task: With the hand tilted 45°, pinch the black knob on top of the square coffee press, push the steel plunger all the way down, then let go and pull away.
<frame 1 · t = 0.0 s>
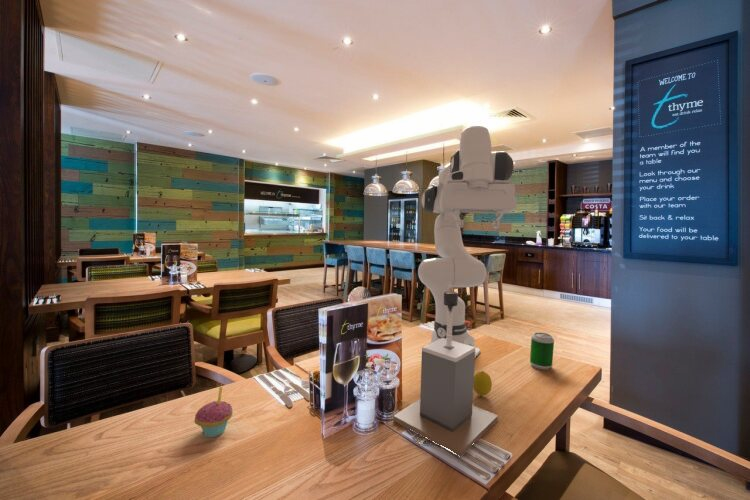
hand: (478, 227, 92), 52 cm above the table, tool tilted 20°, fingers open, 8 cm apart
plunger: (449, 338, 89), point 23 cm above the table, slide at 8.0 cm
soda can: (540, 366, 127), on the table
press: (445, 420, 92), on the table
cupcake: (214, 432, 85), on the table
lemon: (481, 396, 105), on the table
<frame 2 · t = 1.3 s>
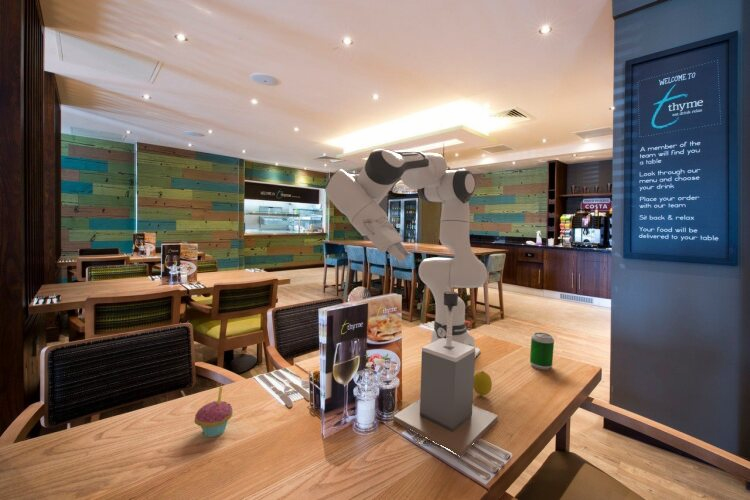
hand: (405, 258, 90), 43 cm above the table, tool tilted 45°, fingers open, 8 cm apart
nothing on the table moved.
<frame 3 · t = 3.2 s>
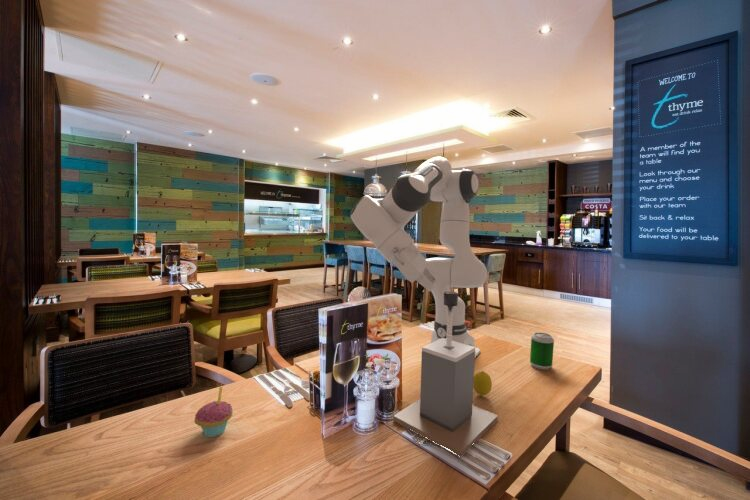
hand: (433, 285, 89), 37 cm above the table, tool tilted 45°, fingers open, 8 cm apart
nothing on the table moved.
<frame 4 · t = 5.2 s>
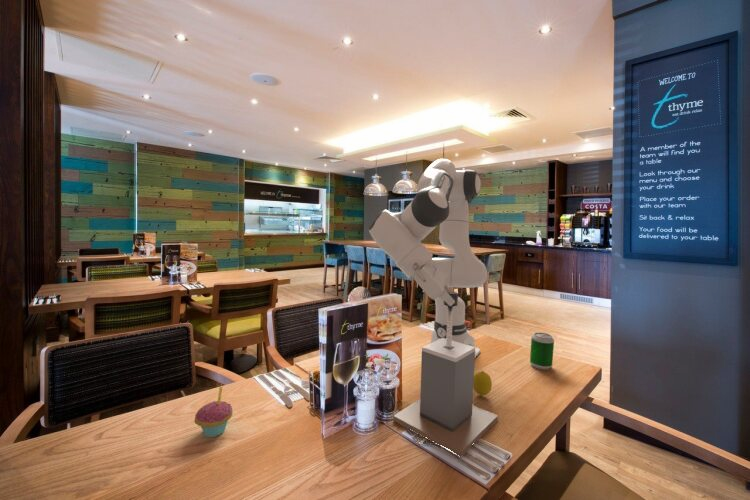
hand: (453, 301, 88), 33 cm above the table, tool tilted 45°, fingers closed on plunger, 4 cm apart
plunger: (449, 338, 89), point 23 cm above the table, slide at 8.0 cm, touching gripper
everything else where it was.
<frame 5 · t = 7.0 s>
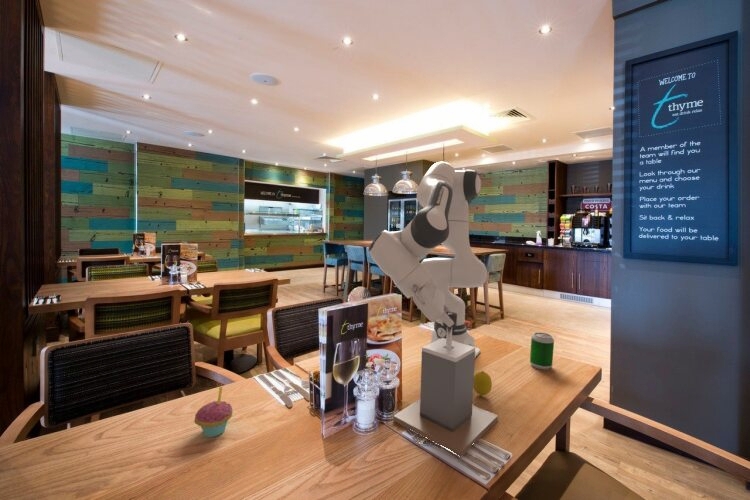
hand: (452, 321, 89), 27 cm above the table, tool tilted 45°, fingers closed on plunger, 4 cm apart
plunger: (448, 358, 90), point 17 cm above the table, slide at 2.5 cm, touching gripper
everything else where it was.
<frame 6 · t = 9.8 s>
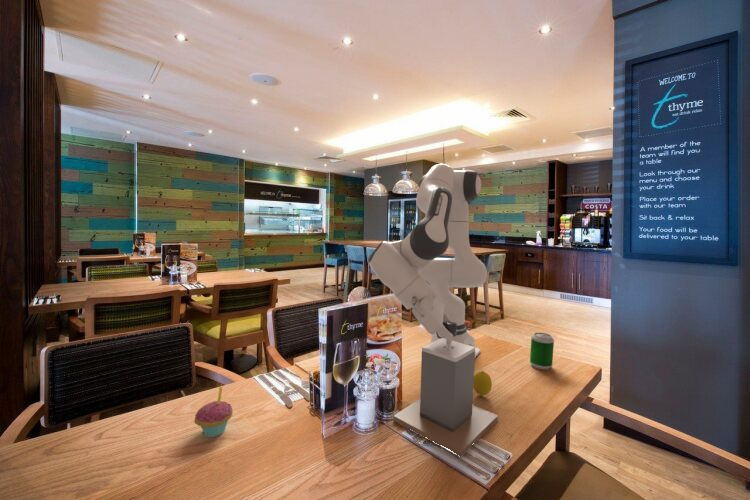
hand: (451, 332, 89), 24 cm above the table, tool tilted 45°, fingers open, 8 cm apart
plunger: (447, 367, 90), point 15 cm above the table, slide at -0.1 cm
everything else where it was.
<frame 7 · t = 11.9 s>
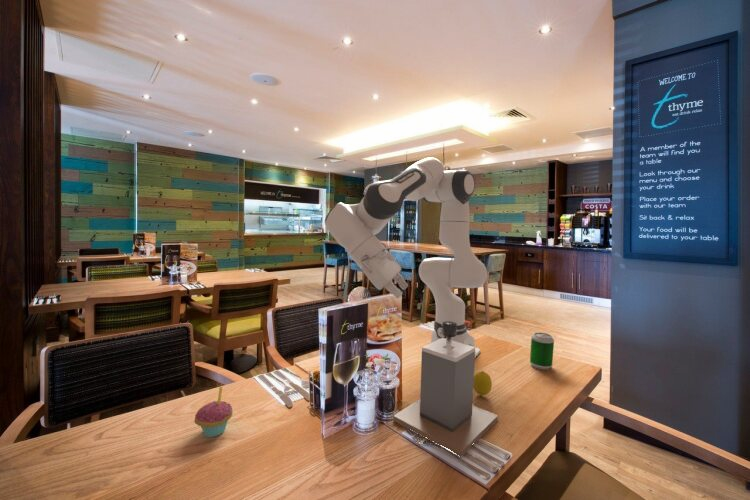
hand: (403, 292, 92), 34 cm above the table, tool tilted 45°, fingers open, 8 cm apart
nothing on the table moved.
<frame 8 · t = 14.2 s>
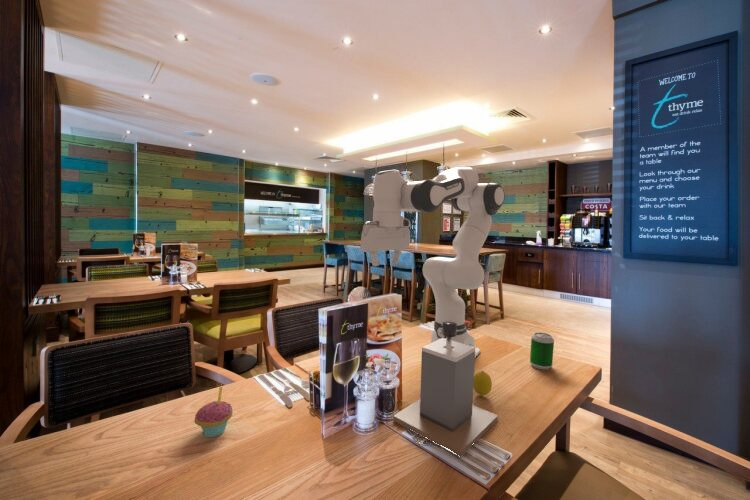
hand: (385, 264, 110), 39 cm above the table, tool pointing down, fingers open, 8 cm apart
nothing on the table moved.
at the end: plunger slide at -0.1 cm; the gripper is holding nothing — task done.
